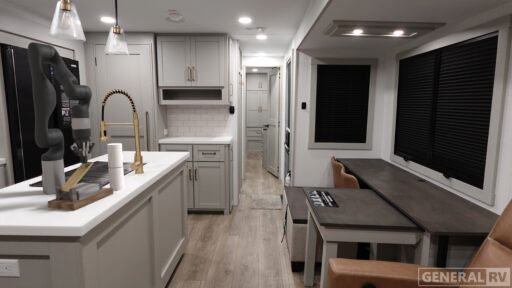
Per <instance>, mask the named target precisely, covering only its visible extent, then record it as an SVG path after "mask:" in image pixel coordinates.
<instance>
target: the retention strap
mask: <svg viewBox="0 0 512 288" xmlns="http://www.w3.org/2000/svg"><path fill="white" fill-rule="evenodd" d="M93 165H94V162H93V161H87V163H85V164H82V163H80V165H79V166H78V168H77V169H76V170H75V171H74V172H73V173H72V174H71V176H69V178H68V179H67V180H66V181H65V184H64V185H63V186H62V187H61V188H60V189H59V190H60V191H64V192H69V189H70V188H74V187H75V185H76V184H79V183H80V181H81V179H83V177H84V176H85V175H86V174H87V172H88V171H89V170H90V168H91V167H92V166H93Z"/></svg>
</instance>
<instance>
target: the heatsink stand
mask: <svg viewBox="0 0 512 288" xmlns="http://www.w3.org/2000/svg"><path fill="white" fill-rule="evenodd" d="M60 188H61V186H59V187H55V191H56V193H55V198H54V199H50V200H48V201H47V208H48V209H54V210H64V211H73V212H74V211H77V210H79V209H82V208H85V207H86V206H89V205H92V204H93V203H95V202H98V201H100V200H103V199H105V198H107V197H109V196H112V195H114V191H113V188H110V187H103V184H102V181H100V180H98V181H97V180H89V181H86V182H78V183H77V184H76V185H75V187H74V188H70V189H69V192H64V191H60V190H59V189H60Z"/></svg>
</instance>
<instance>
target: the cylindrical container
mask: <svg viewBox="0 0 512 288" xmlns="http://www.w3.org/2000/svg"><path fill="white" fill-rule="evenodd" d="M106 147H107V148H106V149H107V164H108V165H107V166H108V179H109V188H113V192H118V191H122V190H124V189H125V175H124V160H123V159H124V158H123V157H124V156H123V143H120V142H115V143H114V142H113V143H107V144H106Z"/></svg>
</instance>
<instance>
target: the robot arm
mask: <svg viewBox="0 0 512 288" xmlns="http://www.w3.org/2000/svg"><path fill="white" fill-rule="evenodd" d="M27 58H28V62H29V69H30V73H31V83H32V98H33V106H34V140H35V141H34V142H35V144H36V145H37V147H39V148H41V149H44V148H46V149H47V148H49V149H48V151H46V152H45V153H43V154H42V155H41V157H40V160H41V169H42V174H41V183H42V192H43V193H44V194H46V195H54V194H55V195H56V191H55V187H59V186H61V187H62V186H63V185H64V184H65V183H66V175H65V174H66V173H65V164H64V163H65V162H64V155H65V139H64V138H65V137H64V134H63V132H62V130H61V129H59V128H49V119H50V117H51V115H52V113H53V112H54V110H55V108H56V105H57V93H56V89H55V87H54V86H53V84H52V83H51V81H50V80H49V79H48V77H47V76H46V74H45V73H44V70H43V66H42V64H51V65H52V66H53V67H54V70H53V76H54V78H55V80H56V81H57V82H58V83H59V84H60V85H61V87H62V90H63V92H64V95H65V96H66V98H68V100H72V101H79V104H75V105H72V106H71V107H70V110H71V111H70V112H71V131H72V138H73V139H74V140H73V144H72V145H69V148H70V150H71V151H72V152H73V153H74V154H75V156H79V161H80V164H85V163H87V162H89V161H88V156H89V154H91V153H92V152H93V149H94V147H95V144H96V143H95V142H92V140H91V137H92V127H91V120H90V111H89V110H90V106H91V105H90V104H91V101H92V100H91V99H92V95H93V92H92V90H91V88H90V87H89V86H88V85H85V84H84V85H83V84H79V80H78V79H77V77H76V76H75V75H74V74H73V73H72V72H71V71H70V70H69V68H68V67H67V65H66V63H65V62H64V60H63V59H62V56H61V55H60V53H59V52H58V50H57V48H55V47H54V45H53V46H52V45H50V44H45V43H41V42H34V41H33V42H32V41H31V42H29V44H28V45H27Z"/></svg>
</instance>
